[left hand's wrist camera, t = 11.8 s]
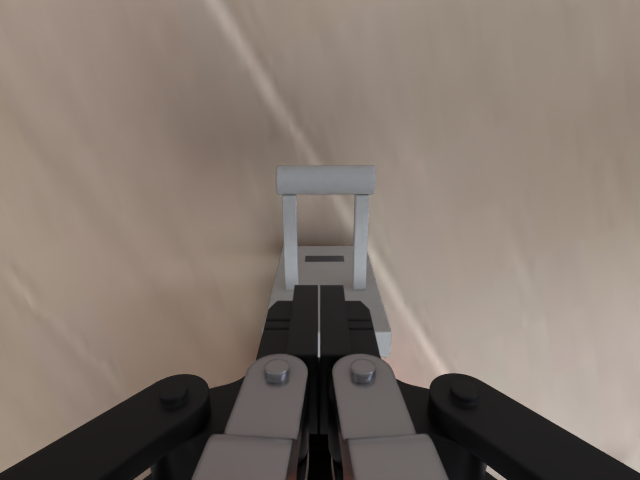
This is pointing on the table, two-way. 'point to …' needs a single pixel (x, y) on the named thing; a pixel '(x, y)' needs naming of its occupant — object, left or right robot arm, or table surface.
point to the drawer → (329, 265)
